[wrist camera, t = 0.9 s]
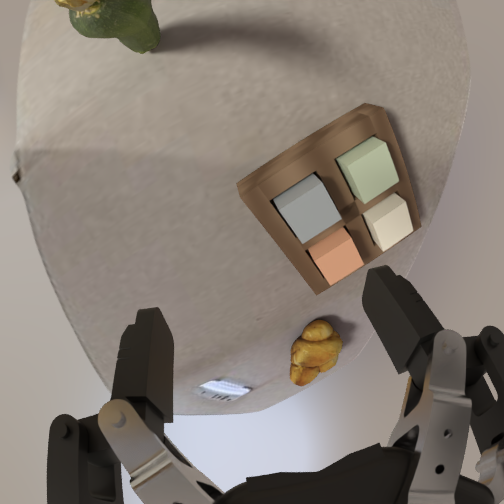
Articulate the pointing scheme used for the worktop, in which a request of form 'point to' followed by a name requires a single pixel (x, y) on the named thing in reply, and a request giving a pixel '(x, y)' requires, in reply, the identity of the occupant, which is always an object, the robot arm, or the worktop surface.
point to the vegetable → (116, 21)
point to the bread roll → (314, 352)
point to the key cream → (388, 221)
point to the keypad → (327, 188)
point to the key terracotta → (336, 256)
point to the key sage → (368, 169)
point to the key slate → (307, 208)
